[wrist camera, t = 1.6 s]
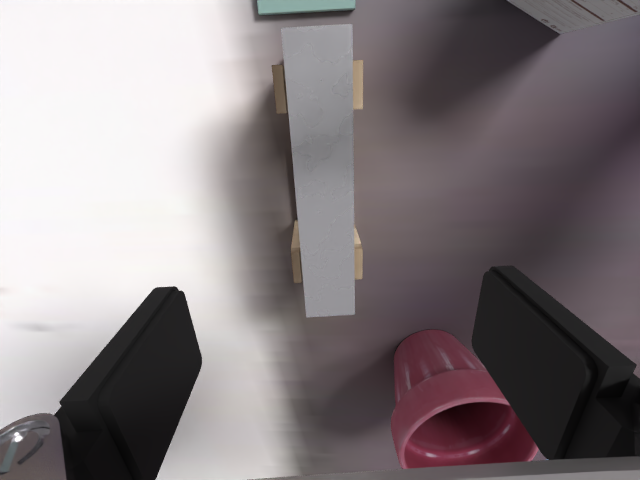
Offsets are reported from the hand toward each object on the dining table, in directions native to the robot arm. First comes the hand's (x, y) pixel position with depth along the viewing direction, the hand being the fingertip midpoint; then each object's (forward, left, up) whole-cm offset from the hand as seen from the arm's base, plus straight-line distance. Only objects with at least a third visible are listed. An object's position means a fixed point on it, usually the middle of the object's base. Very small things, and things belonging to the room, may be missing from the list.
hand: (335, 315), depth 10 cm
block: (0, 0, -17) cm, 17 cm away
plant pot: (-13, +26, -24) cm, 38 cm away
